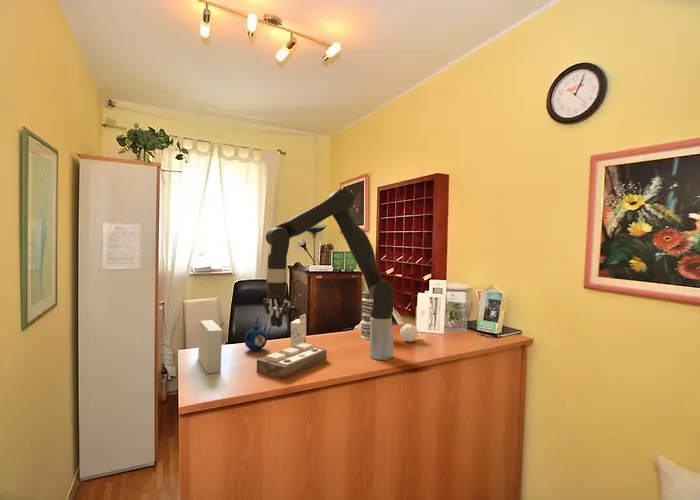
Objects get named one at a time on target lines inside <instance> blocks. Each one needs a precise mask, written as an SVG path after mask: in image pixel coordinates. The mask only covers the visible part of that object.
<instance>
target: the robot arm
mask: <svg viewBox="0 0 700 500" xmlns="http://www.w3.org/2000/svg"><path fill="white" fill-rule="evenodd" d="M354 202H355V196H354V194H353V192H352V191H350V189H347V188H340V189H337V190H335V191H333V192H332V193H330V194H329V196H328V197H327V199H326V200H324V201H323V202H321V203H319V204H318V205H315V206H313V207H312V208H309V209H307V210H305V211H303V212H301V213H299V214H297V215H295V216H293V217H292V218H290V219H289V220H287V221H285V222H282V223H280V224H279V225H275V226H273V227H272V228H270V229H269V230H267V231H266V234H265V241H266V243H267V244H269V245H270V246H271V247H270V253H269V254H268V256H267V270H266V271H267V272H266V293H267V297H266V298H264V299H262V304H263V307H264V309H265V312H266V314H267V315H269V316H270V326H271V327H277V328H281V327H282V326H283V317H285V316H287V315H288V313H289V310H290V309H291V306H292V301H289V300H287V296H286V294H287V292H288V270H287V269H288V268H287V265H288V264H287V262H288V261H287V256H288V254H289V253H288V252H289V247H290V239H292V238H294V237H297V236H301V235H302V234H303V233H306V232H307V231H309V230H310V229H312V228H313V227H315V226H316V225H318V224H320V223H321V222H323V221H324V220H326V219H327V218H329V217H333V218H334V220H335V222H336V224H337V225H338V227H339V229H340V231H341V234H342V235H343V237H344V240H345V241H346V244H347V247H348V248H349V252H351V256H352V257H353V259H354V261H355V263H356V265H357V267H358V269H359V270H360V272H361V274H362V275H363V277H364V281H365V283H366V287H367V289H368V290H369V293H370V295H371V296H372V297H373V308H372V310H371V315H370V316H371V317H370V339H369V357H370V358H371V359H373V360H378V361H380V360H381V361H388V360H390V359H391V358H393V357H394V334H392V331H393V330H392V329H393V327H392V326H393V325H392V322H393V321H392V320H393V319H392V318H393V312H394V307H395V306H394V305H395V287H394V286H393V284H392V283H391V282H390V281H387V280H385V278H383V276H382V274H381V272H380V269H379V268H378V265H377V260H376V254H375V251H374V247H373V245H372V243H371V242H370V238H369V237H368V235H367V234H366V232H365V231H364V230H363V229H362V228H361V227H360V226H359V225H358V224H357V223H356V222H355V219H354V218H353V217H352V216H351V213H350V209H352V207H353V205H354Z"/></svg>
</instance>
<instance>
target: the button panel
mask: <svg viewBox="0 0 700 500" xmlns="http://www.w3.org/2000/svg"><path fill="white" fill-rule="evenodd" d="M290 347H291V346H290ZM291 348H295V346H294V347H291ZM313 348H316V349H320V350H323V351H321V352H318V353H316V354H313V355H311V356H308V357H306V358H303V359H301V360H299V361H296V362H294V363H291V364H289V365H284V364H280V363H278V362H277V363H275V362H271V361H268V360H266V356H263V357H261V358H258V359H256V372H257V373H261V374H264V375H267V376H270V377H273V378H277V379H280V380H283V381H285V380H286V379H289V378H291V377H293V376H295V375H298V374H300V373H302V372H305V371H306V370H309V369H311V368H313V367H315V366H318V365H320V364H323V363H324V362H326V361H328V360H327V357H328V355H327V354H328V353H327V350H328V349H325V348H320V347H317V346H312V349H313ZM277 353H281V354H282V350H280V351H277ZM300 353H303V351H300ZM287 358H290V357H289V356H286V359H287Z"/></svg>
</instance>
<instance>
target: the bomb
mask: <svg viewBox="0 0 700 500" xmlns="http://www.w3.org/2000/svg"><path fill="white" fill-rule="evenodd" d="M258 322H259V317H256V321H255V325H254V326H253V328H252V329H249V330H248V331H247V332H246V334H245V336H244V345H245V346H246V347H247V349H249V350H251V351H253V352H254V351H260V350H262V349H264V348H265V347H266V344H267V342H268V335H267V333H266V331H264V330H263V329H261V328H259V326H258V325H257V323H258Z"/></svg>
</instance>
